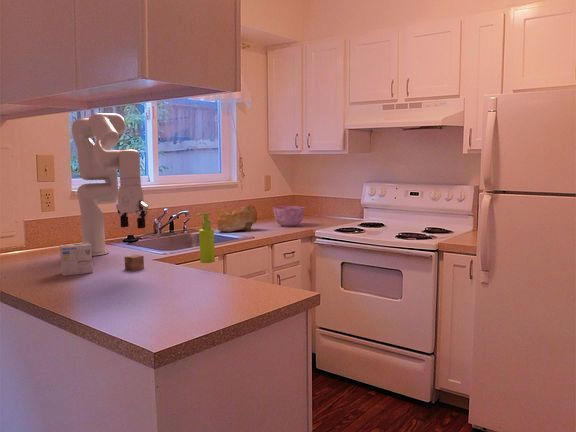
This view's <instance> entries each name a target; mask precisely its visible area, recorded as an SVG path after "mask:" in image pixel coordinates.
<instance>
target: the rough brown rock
mask: <svg viewBox="0 0 576 432" xmlns="http://www.w3.org/2000/svg"><path fill="white" fill-rule="evenodd" d="M257 213H258V212H257V209H256V207H255V206H254V205H252V204H251V205H250V204H249V205H248V204H247V205H245V204H244V205H242V206H241V207H240V208H239V209H237V210H233V211H230V210H228V209H226V208H222V207H221V208H218V209H217V210H216V214H217V220H216V221H217V225H216V227H217V230H218V231H220V232H223V233H226V232H229V233H231V232H234V231H235V232H236V231H241V230H243V231H244V232H249V231H251V229H252V227H253V224H255V223H257V221H258V214H257Z"/></svg>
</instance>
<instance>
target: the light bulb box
mask: <svg viewBox="0 0 576 432" xmlns="http://www.w3.org/2000/svg"><path fill="white" fill-rule="evenodd" d="M59 254H60V255H59V256H60V266H61V267H60V268H61V274H62V276H63V277H65V276H73V275H83V274H91V273H94V265H93V256H92V249H91V244H90V243H82V242H79V243H69V244H60V245H59Z"/></svg>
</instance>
